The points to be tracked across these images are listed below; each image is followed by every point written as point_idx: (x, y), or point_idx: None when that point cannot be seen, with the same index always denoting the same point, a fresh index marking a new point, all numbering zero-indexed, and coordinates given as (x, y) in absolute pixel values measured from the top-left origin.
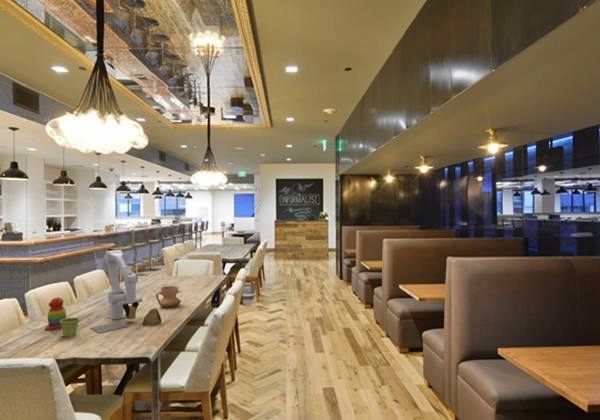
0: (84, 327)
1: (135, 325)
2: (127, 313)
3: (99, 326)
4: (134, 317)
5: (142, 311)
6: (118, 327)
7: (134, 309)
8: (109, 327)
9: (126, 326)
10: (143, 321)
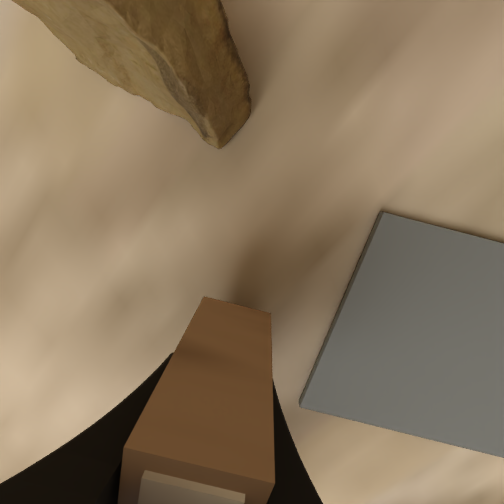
0: (488, 497)
1: (300, 178)
2: (280, 408)
3: (462, 432)
4: (213, 307)
5: (2, 442)
6: (452, 269)
7: (175, 404)
8: (472, 345)
9: (394, 220)
10: (244, 73)
